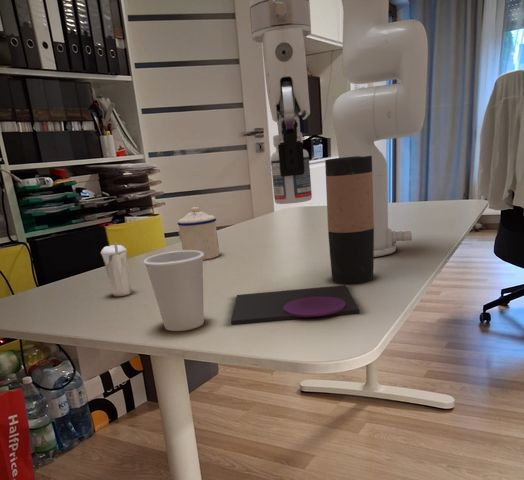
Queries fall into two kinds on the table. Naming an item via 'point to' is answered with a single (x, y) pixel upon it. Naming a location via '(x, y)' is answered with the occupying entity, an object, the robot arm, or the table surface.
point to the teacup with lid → (199, 233)
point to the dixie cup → (178, 288)
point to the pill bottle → (290, 180)
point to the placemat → (293, 304)
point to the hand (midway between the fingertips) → (291, 173)
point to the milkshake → (117, 269)
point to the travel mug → (350, 218)
